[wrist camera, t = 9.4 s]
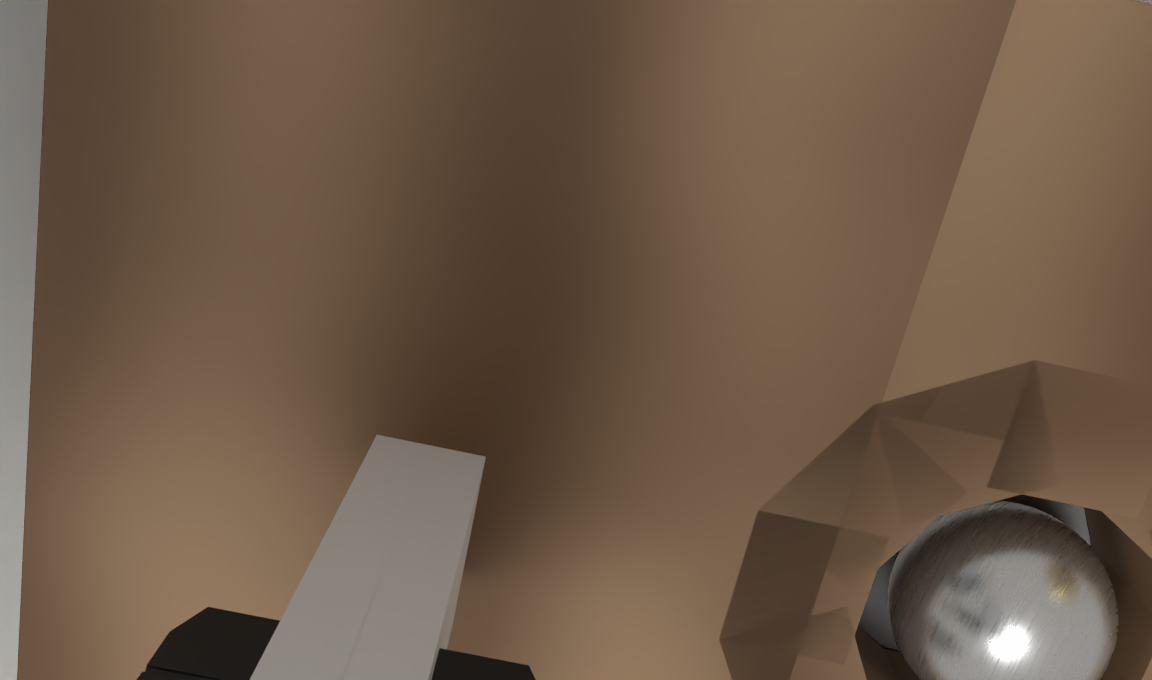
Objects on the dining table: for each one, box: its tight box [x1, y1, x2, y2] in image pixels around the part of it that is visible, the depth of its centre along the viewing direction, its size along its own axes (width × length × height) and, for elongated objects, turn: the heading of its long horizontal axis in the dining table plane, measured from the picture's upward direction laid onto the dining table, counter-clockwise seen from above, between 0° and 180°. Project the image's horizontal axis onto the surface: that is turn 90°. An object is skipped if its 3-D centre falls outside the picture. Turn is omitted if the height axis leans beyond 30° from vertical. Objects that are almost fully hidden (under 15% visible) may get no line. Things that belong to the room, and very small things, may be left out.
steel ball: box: [887, 500, 1118, 680], centre depth 16 cm, size 3×3×3 cm
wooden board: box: [17, 0, 1152, 680], centre depth 17 cm, size 22×18×2 cm
